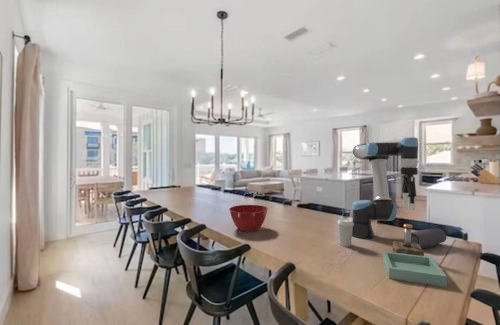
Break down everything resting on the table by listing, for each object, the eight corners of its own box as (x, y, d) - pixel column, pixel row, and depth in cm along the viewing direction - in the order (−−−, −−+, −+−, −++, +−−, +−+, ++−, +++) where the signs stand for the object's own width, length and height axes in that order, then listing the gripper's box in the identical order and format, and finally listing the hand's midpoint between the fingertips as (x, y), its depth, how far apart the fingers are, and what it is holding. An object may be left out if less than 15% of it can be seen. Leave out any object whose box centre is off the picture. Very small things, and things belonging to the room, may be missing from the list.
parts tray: (388, 278, 111) (388, 268, 111) (382, 259, 131) (383, 251, 131) (446, 287, 104) (446, 276, 104) (431, 266, 123) (431, 257, 123)
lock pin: (403, 254, 133) (404, 225, 133) (402, 251, 137) (402, 223, 136) (412, 255, 132) (413, 226, 131) (410, 252, 135) (411, 224, 135)
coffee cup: (353, 243, 156) (353, 218, 156) (354, 248, 147) (354, 222, 147) (336, 241, 159) (337, 217, 159) (336, 246, 150) (337, 221, 150)
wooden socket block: (396, 259, 131) (396, 248, 131) (392, 251, 142) (392, 241, 142) (423, 263, 127) (424, 251, 126) (417, 254, 138) (418, 243, 138)
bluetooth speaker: (431, 241, 159) (431, 225, 159) (447, 246, 150) (447, 229, 150) (405, 246, 151) (405, 229, 151) (420, 251, 142) (421, 234, 142)
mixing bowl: (222, 232, 178) (222, 210, 178) (239, 222, 205) (239, 203, 204) (260, 237, 168) (260, 213, 167) (272, 225, 194) (272, 205, 194)
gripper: (424, 168, 120) (423, 212, 121) (411, 166, 143) (411, 203, 144) (405, 167, 123) (405, 211, 123) (396, 166, 146) (396, 202, 147)
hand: (408, 207), depth 134 cm, fingers open, 13 cm apart
